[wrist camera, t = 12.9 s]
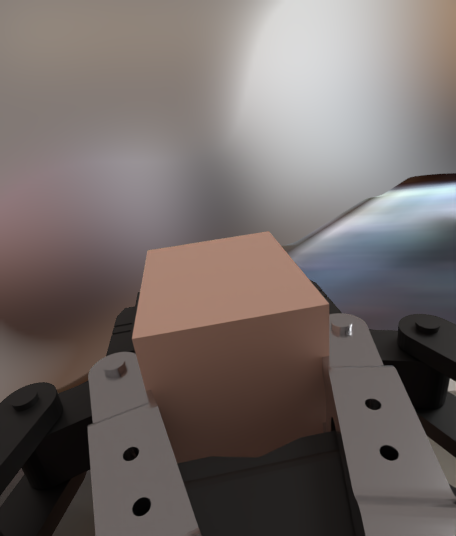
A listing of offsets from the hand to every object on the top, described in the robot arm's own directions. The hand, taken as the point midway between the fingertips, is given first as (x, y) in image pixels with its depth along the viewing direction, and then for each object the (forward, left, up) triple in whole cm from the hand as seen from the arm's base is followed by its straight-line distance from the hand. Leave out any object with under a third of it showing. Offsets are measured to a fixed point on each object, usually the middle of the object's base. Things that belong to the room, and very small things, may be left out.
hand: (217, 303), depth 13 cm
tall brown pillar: (+1, +3, -11) cm, 12 cm away
